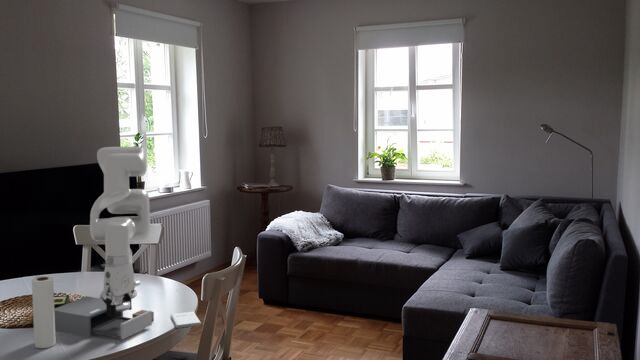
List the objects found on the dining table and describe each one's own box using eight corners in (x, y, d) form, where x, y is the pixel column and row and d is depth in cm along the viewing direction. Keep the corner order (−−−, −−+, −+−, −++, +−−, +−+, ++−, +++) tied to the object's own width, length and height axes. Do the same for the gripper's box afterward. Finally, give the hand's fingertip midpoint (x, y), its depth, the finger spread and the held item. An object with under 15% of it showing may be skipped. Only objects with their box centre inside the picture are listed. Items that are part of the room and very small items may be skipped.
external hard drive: (176, 329, 201) (171, 318, 212) (200, 326, 204) (194, 315, 215) (176, 325, 201) (171, 313, 212) (200, 322, 204) (194, 310, 215)
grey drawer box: (87, 315, 212) (86, 295, 211) (123, 321, 206) (122, 301, 205) (51, 330, 197) (51, 309, 197) (89, 337, 191) (88, 315, 191)
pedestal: (142, 319, 208) (141, 309, 208) (153, 321, 207) (153, 311, 206) (132, 324, 204) (132, 314, 204) (144, 326, 202) (144, 316, 202)
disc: (135, 306, 197) (134, 301, 197) (120, 312, 191) (120, 307, 191) (118, 304, 200) (118, 299, 200) (103, 310, 194) (103, 304, 193)
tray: (112, 317, 206) (112, 304, 206) (151, 324, 200) (151, 310, 200) (82, 331, 194) (81, 316, 193) (123, 338, 187) (123, 324, 187)
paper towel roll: (53, 348, 182) (50, 280, 180) (32, 349, 181) (29, 281, 179) (58, 339, 189) (56, 274, 187) (38, 340, 188) (35, 275, 186)
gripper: (108, 266, 184) (109, 322, 186) (144, 255, 200) (145, 306, 202) (89, 264, 187) (91, 319, 189) (126, 253, 203) (128, 303, 205)
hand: (119, 312), depth 196 cm, fingers closed on disc, 7 cm apart
